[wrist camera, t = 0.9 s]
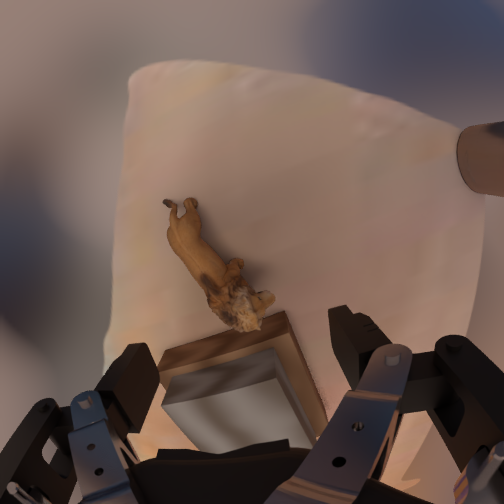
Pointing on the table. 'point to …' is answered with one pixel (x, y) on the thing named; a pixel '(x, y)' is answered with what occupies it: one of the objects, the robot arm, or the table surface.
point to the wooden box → (243, 389)
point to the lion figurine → (216, 273)
